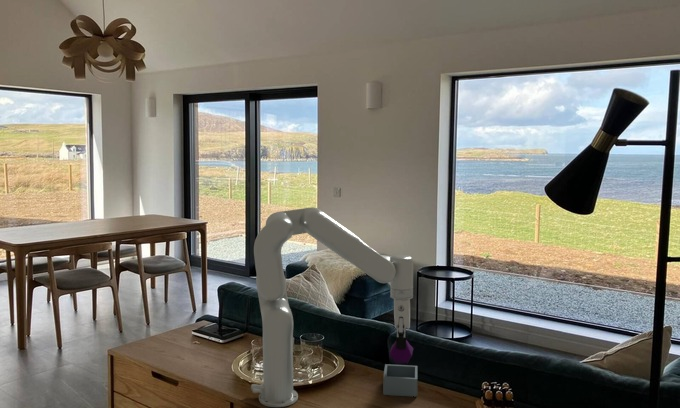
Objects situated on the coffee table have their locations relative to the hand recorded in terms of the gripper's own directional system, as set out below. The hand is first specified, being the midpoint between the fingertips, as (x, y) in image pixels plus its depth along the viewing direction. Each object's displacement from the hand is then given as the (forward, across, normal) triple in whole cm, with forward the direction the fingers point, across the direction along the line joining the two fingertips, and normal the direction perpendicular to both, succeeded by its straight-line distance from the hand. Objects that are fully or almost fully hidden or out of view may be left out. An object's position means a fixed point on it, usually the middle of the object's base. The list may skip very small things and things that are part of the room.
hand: (401, 345), depth 188 cm
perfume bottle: (+6, 0, 0) cm, 6 cm away
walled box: (+15, 0, 0) cm, 15 cm away
